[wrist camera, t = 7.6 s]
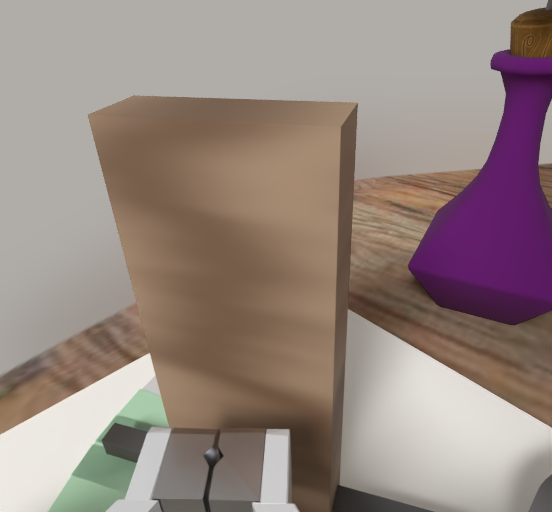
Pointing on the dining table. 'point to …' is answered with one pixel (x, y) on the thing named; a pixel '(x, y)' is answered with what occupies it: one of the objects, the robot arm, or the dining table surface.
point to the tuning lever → (243, 271)
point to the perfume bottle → (501, 200)
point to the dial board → (354, 449)
